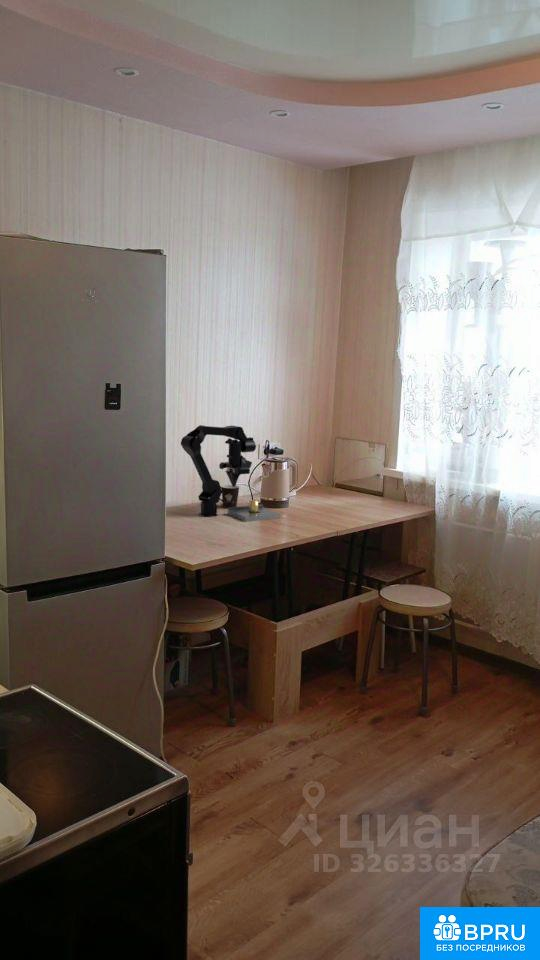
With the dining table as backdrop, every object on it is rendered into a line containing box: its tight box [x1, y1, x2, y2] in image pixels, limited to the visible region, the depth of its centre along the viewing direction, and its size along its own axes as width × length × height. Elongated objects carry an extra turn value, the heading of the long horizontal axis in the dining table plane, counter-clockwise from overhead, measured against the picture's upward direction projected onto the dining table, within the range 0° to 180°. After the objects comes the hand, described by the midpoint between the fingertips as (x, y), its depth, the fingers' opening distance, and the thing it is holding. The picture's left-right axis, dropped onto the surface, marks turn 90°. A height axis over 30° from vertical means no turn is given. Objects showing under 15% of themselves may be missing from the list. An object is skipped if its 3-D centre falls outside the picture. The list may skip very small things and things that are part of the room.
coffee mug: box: [219, 484, 240, 509], centre depth 374 cm, size 12×9×10 cm
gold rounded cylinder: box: [249, 499, 259, 513], centre depth 356 cm, size 4×4×7 cm
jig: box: [227, 504, 281, 523], centre depth 356 cm, size 18×16×3 cm
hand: (233, 486), depth 362 cm, fingers closed
